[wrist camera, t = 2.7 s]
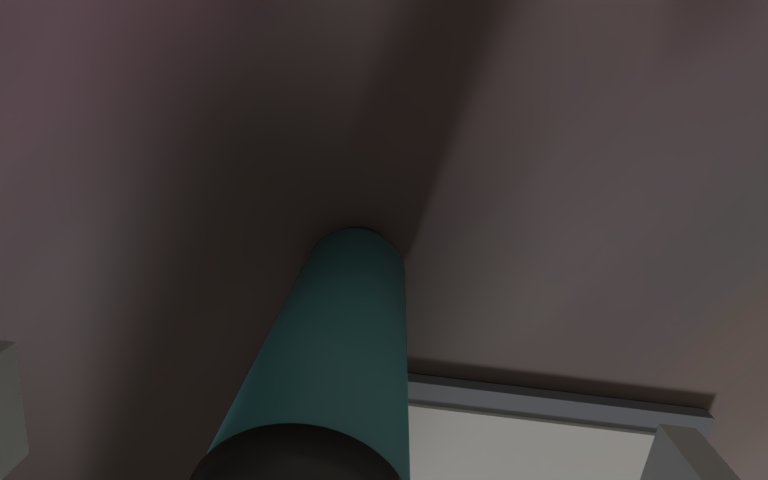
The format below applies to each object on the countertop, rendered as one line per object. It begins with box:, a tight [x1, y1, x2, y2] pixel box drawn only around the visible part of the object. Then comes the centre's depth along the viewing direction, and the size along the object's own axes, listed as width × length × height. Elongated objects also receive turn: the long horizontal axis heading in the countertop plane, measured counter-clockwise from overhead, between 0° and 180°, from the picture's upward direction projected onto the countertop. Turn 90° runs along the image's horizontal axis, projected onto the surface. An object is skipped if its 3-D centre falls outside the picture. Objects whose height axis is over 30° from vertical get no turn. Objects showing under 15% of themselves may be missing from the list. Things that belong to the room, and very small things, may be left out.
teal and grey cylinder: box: [189, 227, 410, 480], centre depth 13 cm, size 4×4×13 cm
